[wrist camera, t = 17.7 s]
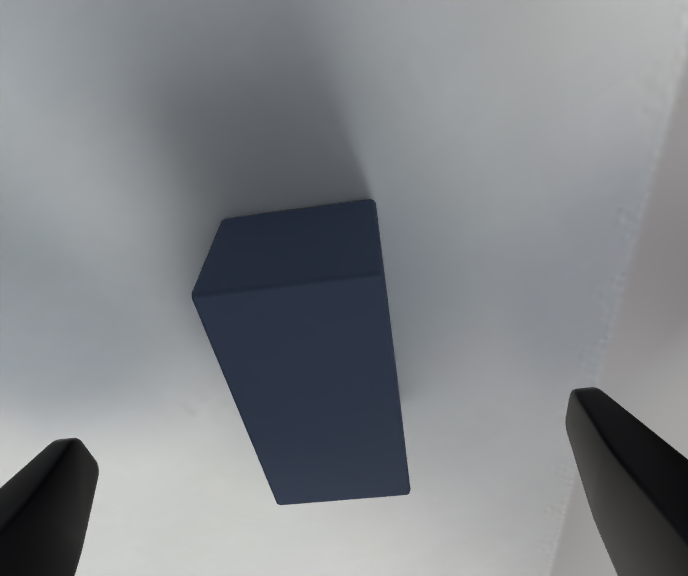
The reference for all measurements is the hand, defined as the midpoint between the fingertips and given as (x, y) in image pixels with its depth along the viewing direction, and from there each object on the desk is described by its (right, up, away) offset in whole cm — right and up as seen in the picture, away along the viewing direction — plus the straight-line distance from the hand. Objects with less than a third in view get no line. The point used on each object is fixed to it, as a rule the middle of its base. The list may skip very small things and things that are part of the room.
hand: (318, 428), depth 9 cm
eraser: (0, +2, +2) cm, 3 cm away
